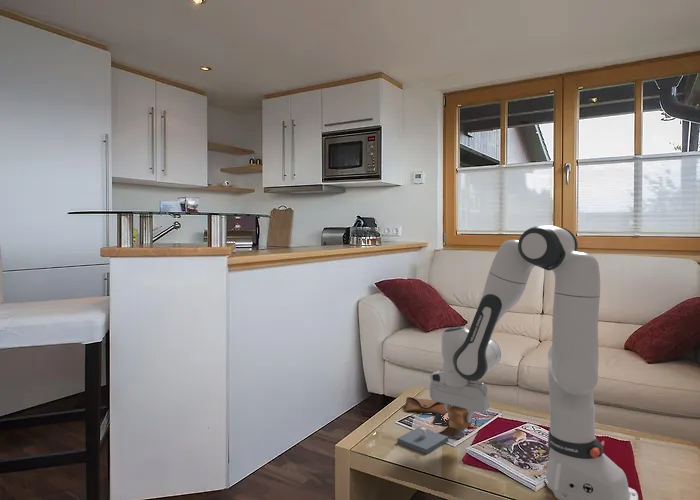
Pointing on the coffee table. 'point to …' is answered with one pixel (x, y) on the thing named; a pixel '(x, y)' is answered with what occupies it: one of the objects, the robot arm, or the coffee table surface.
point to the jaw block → (458, 418)
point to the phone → (439, 417)
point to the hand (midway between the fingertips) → (459, 419)
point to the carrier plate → (422, 440)
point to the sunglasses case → (424, 406)
